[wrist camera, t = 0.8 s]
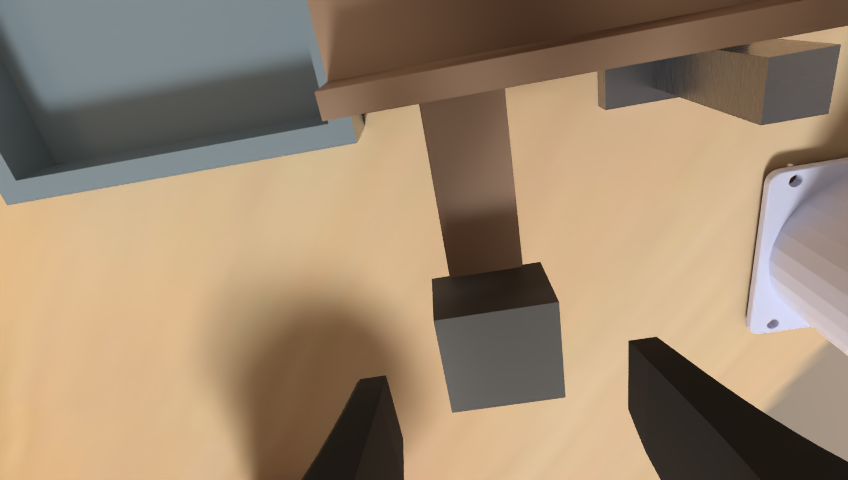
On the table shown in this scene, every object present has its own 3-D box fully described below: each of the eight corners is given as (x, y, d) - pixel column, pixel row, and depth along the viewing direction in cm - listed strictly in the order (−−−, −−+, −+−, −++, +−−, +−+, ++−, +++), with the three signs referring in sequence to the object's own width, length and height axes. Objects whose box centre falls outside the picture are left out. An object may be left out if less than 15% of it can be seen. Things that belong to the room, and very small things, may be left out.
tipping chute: (1515, -783, 7) (2260, -1322, 4) (1058, 259, 14) (1216, 321, 11) (207, -430, 8) (97, -653, 5) (401, 355, 16) (396, 431, 13)
